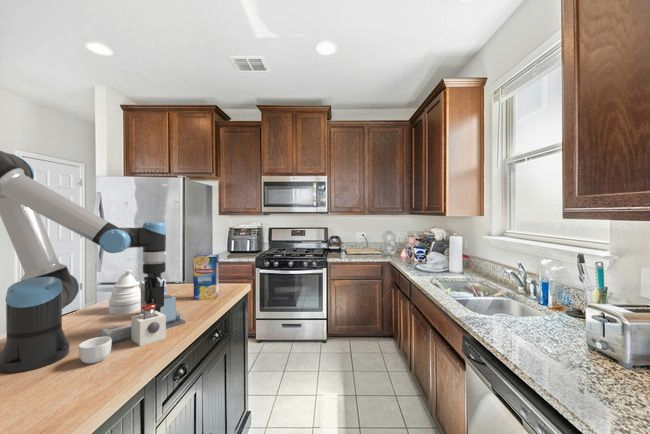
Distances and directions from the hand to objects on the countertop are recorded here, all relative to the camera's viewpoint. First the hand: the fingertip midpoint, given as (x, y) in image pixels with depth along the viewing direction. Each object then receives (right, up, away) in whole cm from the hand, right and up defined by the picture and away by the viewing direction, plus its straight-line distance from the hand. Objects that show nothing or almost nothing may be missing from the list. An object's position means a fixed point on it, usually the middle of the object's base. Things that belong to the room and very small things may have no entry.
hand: (153, 322), depth 112 cm
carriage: (+2, 0, +3) cm, 4 cm away
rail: (-2, -2, -2) cm, 3 cm away
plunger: (+4, +2, -11) cm, 12 cm away
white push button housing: (+4, -2, -10) cm, 11 cm away
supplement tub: (-8, -2, +14) cm, 16 cm away
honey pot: (-25, -2, +20) cm, 32 cm away
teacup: (-3, -2, -24) cm, 24 cm away
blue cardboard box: (+4, -2, +40) cm, 40 cm away
